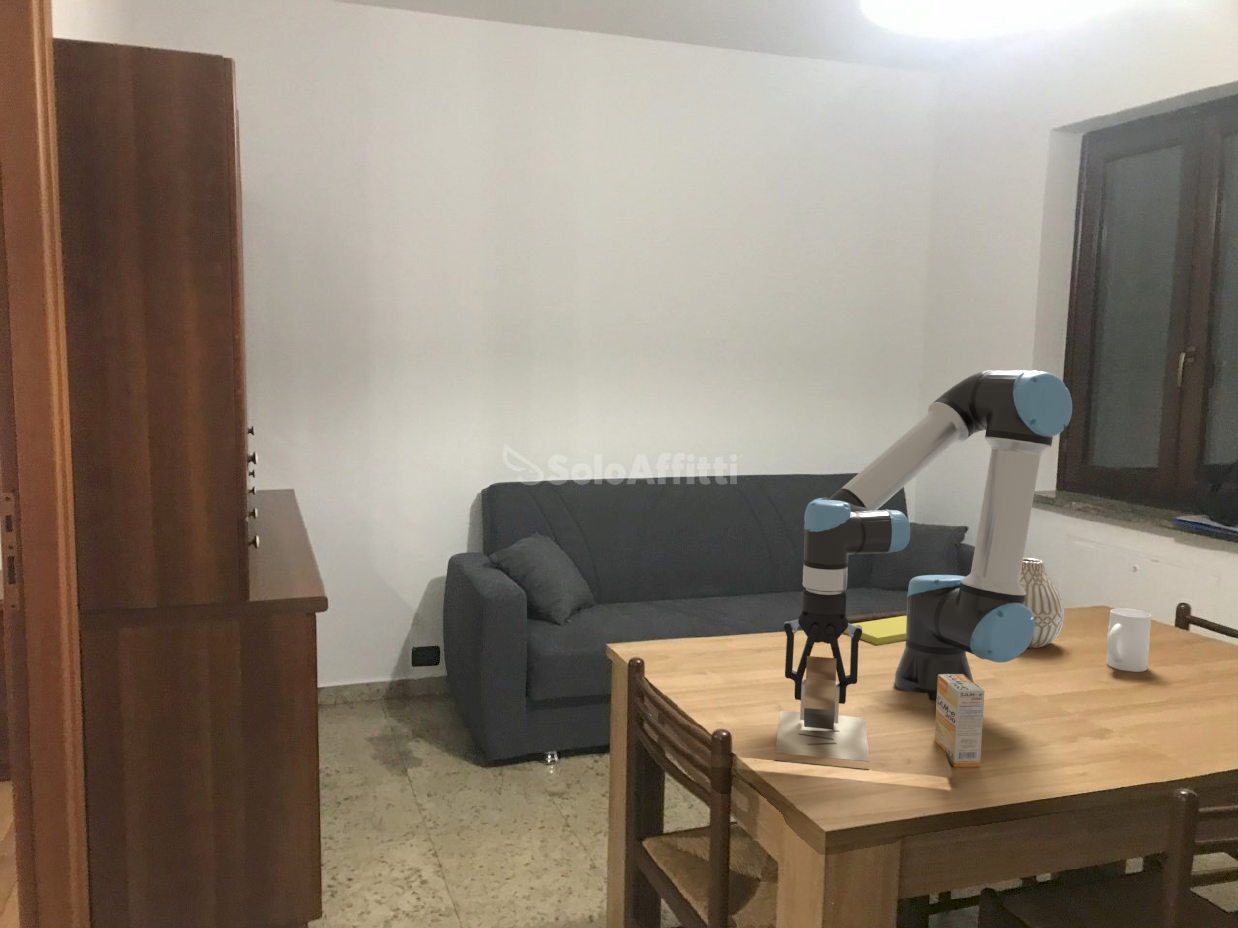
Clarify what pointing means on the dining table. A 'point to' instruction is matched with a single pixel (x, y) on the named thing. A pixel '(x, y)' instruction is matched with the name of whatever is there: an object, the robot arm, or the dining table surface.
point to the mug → (1128, 639)
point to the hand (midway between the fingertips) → (819, 718)
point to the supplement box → (959, 719)
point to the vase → (1041, 602)
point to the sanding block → (820, 692)
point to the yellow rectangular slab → (883, 630)
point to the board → (823, 739)
